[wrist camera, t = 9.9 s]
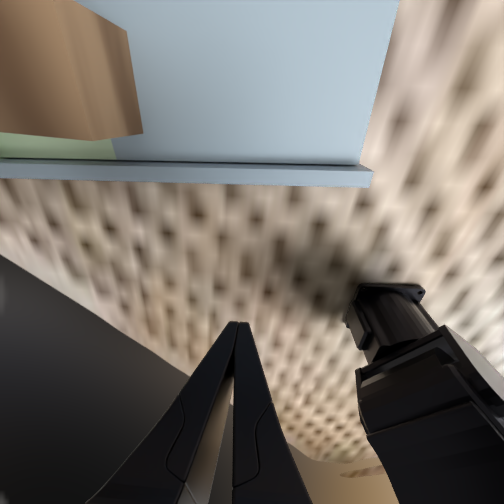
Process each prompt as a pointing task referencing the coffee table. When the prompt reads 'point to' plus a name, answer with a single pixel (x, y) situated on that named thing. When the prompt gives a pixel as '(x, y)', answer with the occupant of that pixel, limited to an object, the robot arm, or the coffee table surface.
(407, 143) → the coffee table surface
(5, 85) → the block
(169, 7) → the trap box
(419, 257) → the coffee table surface
